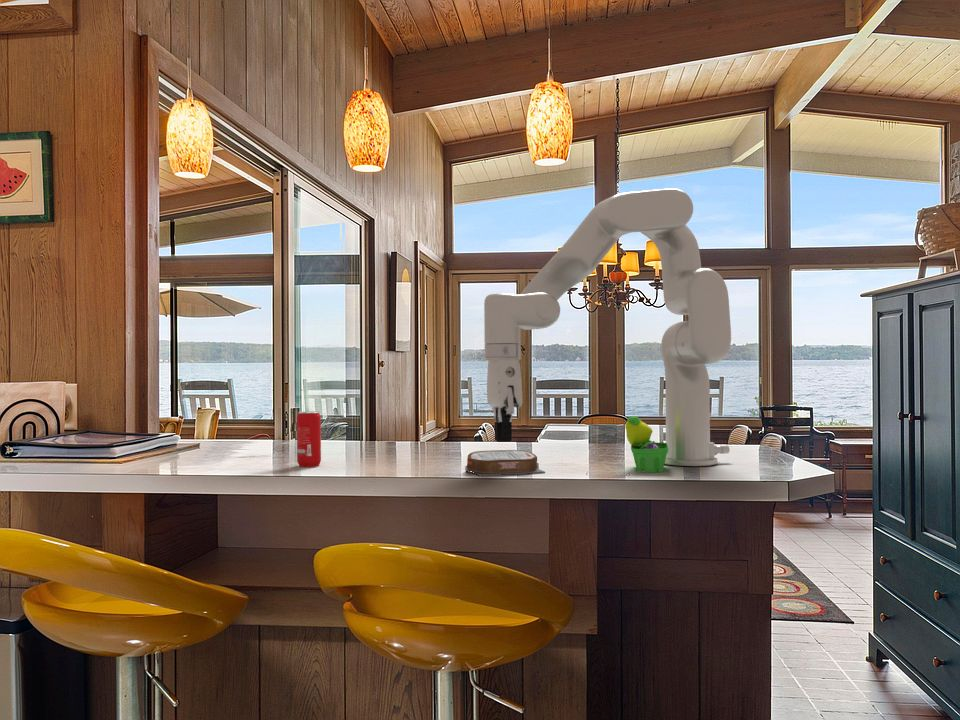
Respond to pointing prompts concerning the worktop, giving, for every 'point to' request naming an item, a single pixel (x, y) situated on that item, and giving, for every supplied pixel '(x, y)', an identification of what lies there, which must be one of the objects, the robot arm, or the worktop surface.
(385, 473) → the worktop surface
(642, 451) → the fruit basket
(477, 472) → the mat
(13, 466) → the worktop surface
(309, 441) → the beverage can
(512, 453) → the tin
